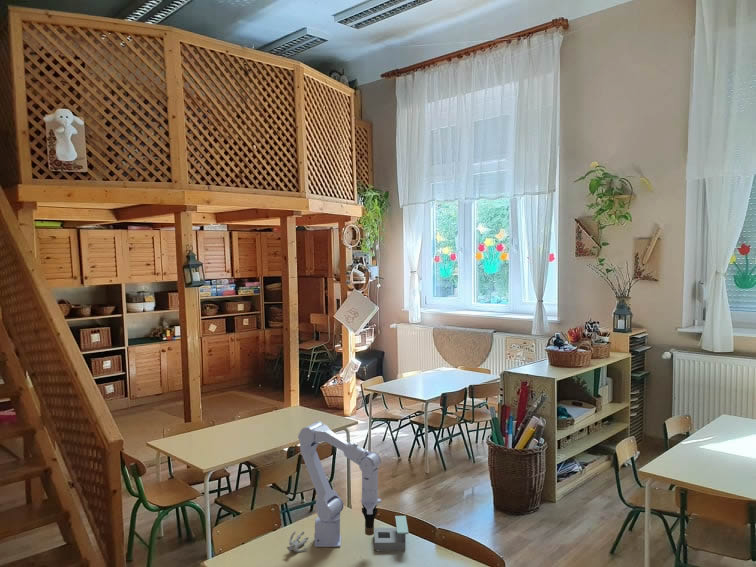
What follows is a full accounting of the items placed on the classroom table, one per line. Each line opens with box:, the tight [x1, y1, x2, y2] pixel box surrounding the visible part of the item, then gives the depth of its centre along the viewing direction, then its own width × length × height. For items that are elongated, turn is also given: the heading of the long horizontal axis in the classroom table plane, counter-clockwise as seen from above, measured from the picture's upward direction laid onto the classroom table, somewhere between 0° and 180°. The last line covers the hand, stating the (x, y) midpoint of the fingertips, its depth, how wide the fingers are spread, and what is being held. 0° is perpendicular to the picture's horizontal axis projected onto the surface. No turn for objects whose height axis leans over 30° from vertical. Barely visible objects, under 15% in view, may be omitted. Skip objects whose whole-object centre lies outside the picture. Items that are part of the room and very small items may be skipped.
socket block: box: [373, 515, 409, 552], centre depth 204 cm, size 12×13×7 cm
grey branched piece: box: [286, 530, 309, 554], centre depth 199 cm, size 8×5×12 cm
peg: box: [364, 521, 375, 536], centre depth 197 cm, size 3×3×9 cm
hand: (369, 525), depth 197 cm, fingers closed on peg, 3 cm apart
